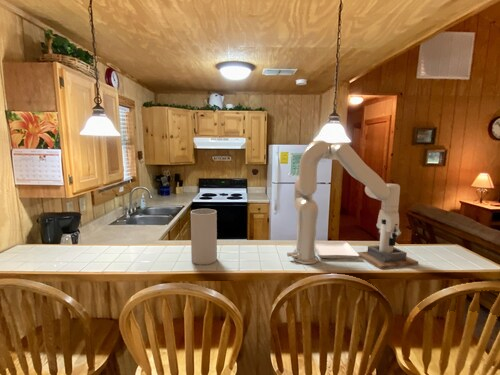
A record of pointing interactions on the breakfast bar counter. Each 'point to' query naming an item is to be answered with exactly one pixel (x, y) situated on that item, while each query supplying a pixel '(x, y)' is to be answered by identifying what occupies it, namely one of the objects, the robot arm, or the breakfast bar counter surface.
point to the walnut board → (383, 265)
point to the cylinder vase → (204, 236)
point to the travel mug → (385, 239)
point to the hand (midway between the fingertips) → (386, 242)
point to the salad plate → (335, 250)
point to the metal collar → (389, 257)
